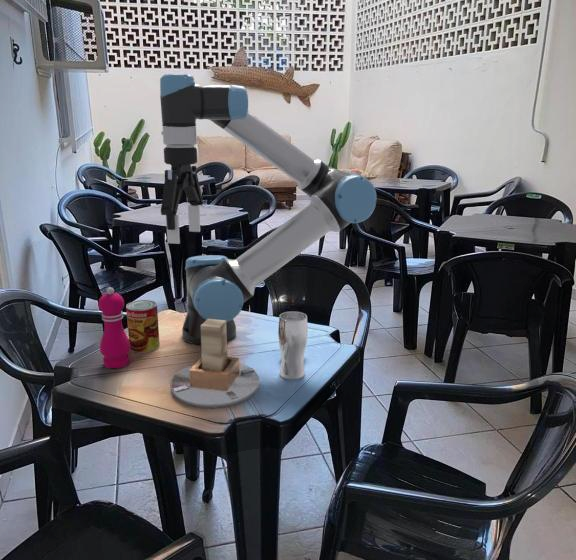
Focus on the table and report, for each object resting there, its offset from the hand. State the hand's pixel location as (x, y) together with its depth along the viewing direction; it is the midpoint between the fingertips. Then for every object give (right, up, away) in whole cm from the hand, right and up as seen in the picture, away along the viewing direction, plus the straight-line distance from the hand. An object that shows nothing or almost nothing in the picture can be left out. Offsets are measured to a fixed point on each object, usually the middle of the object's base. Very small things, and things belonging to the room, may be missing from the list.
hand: (184, 237), depth 127 cm
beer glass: (+26, -33, +1) cm, 42 cm away
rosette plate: (+8, -35, -5) cm, 36 cm away
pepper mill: (-18, -32, +5) cm, 37 cm away
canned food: (-14, -29, +15) cm, 35 cm away
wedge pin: (+8, -33, -6) cm, 35 cm away
